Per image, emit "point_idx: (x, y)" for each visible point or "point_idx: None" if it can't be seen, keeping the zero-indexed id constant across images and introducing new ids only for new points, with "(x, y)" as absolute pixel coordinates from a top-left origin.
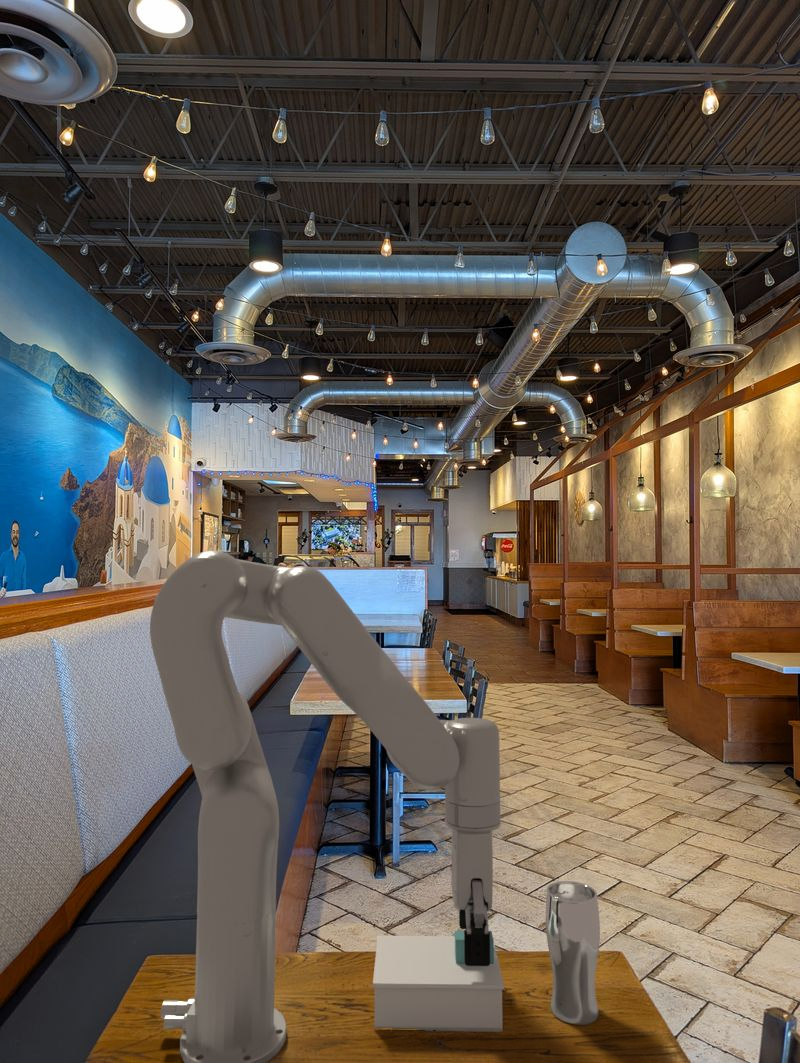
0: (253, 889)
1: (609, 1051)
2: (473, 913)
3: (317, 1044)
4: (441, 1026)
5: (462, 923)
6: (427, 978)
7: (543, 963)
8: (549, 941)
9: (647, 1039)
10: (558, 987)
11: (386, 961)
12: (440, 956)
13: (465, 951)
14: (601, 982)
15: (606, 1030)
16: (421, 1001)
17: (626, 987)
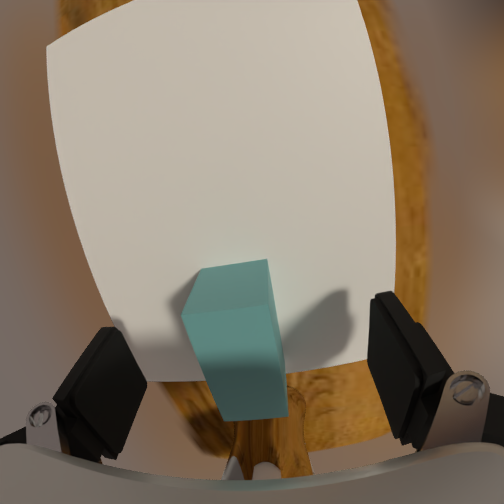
0: None
1: (188, 423)
2: (385, 380)
3: (74, 4)
4: None
5: (376, 314)
6: (89, 188)
7: None
8: None
9: (225, 450)
10: (244, 427)
11: (159, 22)
12: (235, 208)
13: (84, 353)
14: (346, 426)
15: (231, 427)
16: None
17: (334, 443)
